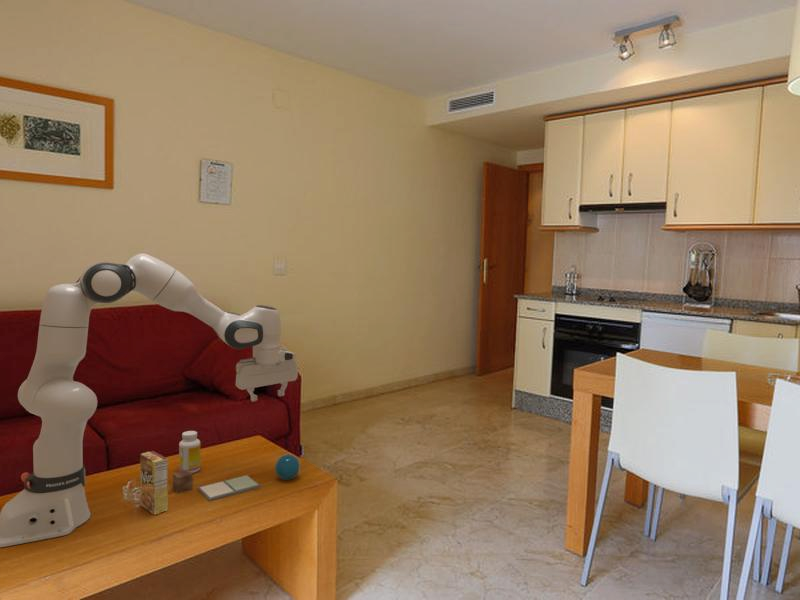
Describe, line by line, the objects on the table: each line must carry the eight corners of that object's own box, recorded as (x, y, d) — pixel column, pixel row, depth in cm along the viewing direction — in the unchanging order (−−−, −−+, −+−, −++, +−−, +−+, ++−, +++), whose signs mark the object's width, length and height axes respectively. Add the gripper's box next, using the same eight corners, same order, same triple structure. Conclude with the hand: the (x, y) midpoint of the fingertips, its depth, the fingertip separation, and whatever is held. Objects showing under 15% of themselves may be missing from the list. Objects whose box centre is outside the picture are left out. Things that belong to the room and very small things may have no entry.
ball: (271, 477, 176) (271, 453, 175) (293, 471, 181) (293, 448, 180) (281, 485, 170) (281, 461, 169) (304, 480, 174) (304, 456, 174)
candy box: (139, 505, 154) (139, 453, 153) (154, 500, 157) (153, 450, 156) (154, 515, 148) (153, 462, 147) (169, 510, 152) (168, 457, 150)
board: (209, 501, 158) (209, 498, 158) (197, 489, 166) (197, 486, 165) (260, 487, 168) (260, 484, 168) (246, 476, 176) (246, 474, 176)
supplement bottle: (204, 467, 183) (204, 430, 182) (194, 475, 176) (194, 436, 175) (185, 465, 183) (185, 429, 182) (175, 473, 177) (175, 435, 176)
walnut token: (177, 493, 162) (177, 477, 162) (173, 488, 166) (172, 472, 165) (192, 489, 165) (192, 474, 165) (187, 484, 169) (187, 469, 168)
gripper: (240, 362, 162) (241, 406, 163) (300, 353, 175) (300, 394, 176) (231, 358, 166) (232, 401, 168) (290, 350, 180) (290, 390, 181)
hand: (267, 398), depth 172 cm, fingers open, 8 cm apart
